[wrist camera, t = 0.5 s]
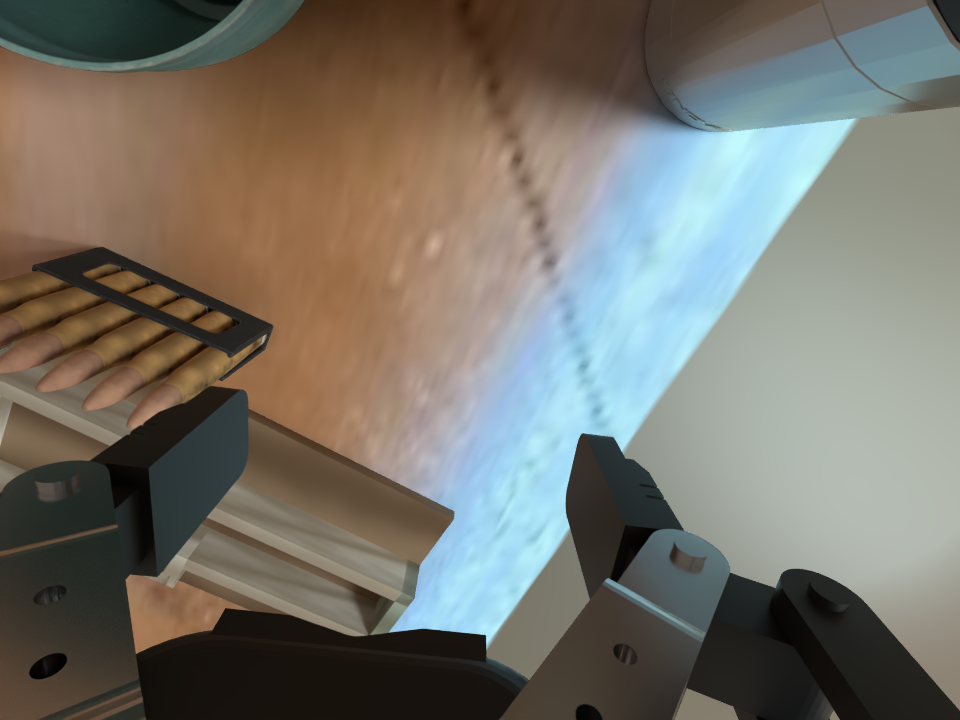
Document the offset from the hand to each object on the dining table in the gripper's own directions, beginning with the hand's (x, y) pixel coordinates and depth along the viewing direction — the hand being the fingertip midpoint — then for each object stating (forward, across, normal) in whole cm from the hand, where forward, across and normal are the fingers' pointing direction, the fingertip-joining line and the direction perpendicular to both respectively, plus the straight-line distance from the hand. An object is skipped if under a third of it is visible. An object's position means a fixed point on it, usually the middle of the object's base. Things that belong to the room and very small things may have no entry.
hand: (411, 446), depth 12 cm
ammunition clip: (+20, +16, +3) cm, 26 cm away
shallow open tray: (+20, +15, +18) cm, 31 cm away
